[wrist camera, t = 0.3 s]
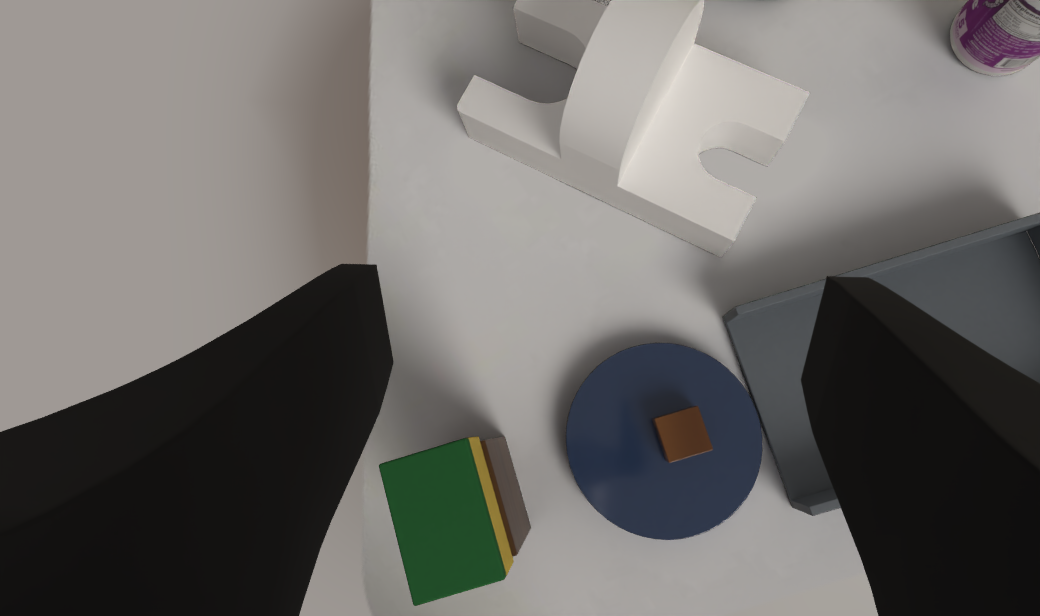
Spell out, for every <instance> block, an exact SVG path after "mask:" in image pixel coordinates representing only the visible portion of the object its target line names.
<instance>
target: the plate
mask: <svg viewBox="0 0 1040 616" xmlns="http://www.w3.org/2000/svg"><path fill="white" fill-rule="evenodd" d="M692 406H698V407H699V410H700V413H701V416H702V419H703V422H704V424H705V427H706V430H707V433H708V436H709V439H710V442H711V444H712V447H713V450H712V451H708V452H705V453H702V454H698V455H695V456H692V457H689V458H685V459H682V460H679V461H675V462H672V463H668V462H666V460H665V457H664V454H663V451H662V448H661V445H660V442H659V439H658V436H657V433H656V430H655V427H654V424H653V421H652V419H653V418H656V417H659V416H662V415H666V414H669V413H672V412H676V411H679V410H682V409H686V408H689V407H692ZM566 448H567V456H568V460H569V464H570V468H571V470H572V473H573V476H574V478H575V480H576V482H577V484H578V486H579V488H580V490H581V491H582V493H583V494H584V496H585V497H586V499H587V500H588V501H589V502H590V504H591V505H592V506H593V507H594V508H595V509H596V510H597V511H598V512H599V513H600V514H601V515H603V516H604V517H605V518H606V519H607V520H609V521H610V522H612V523H613V524H615V525H616V526H618V527H620V528H622V529H624V530H626V531H628V532H630V533H633V534H636V535H639V536H642V537H647V538H652V539H661V540H674V539H684V538H689V537H693V536H697V535H699V534H702V533H705V532H707V531H709V530H711V529H713V528H715V527H717V526H718V525H720V524H721V523H723V522H724V521H725V520H727V519H728V518H729V517H730V516H731V515H733V514H734V513H735V512H736V511H737V510H738V509H739V507H740V506H741V505H742V503H743V502H744V501H745V500H746V498H747V497H748V495H749V493H750V491H751V490H752V488H753V486H754V483H755V481H756V478H757V476H758V472H759V468H760V464H761V457H762V433H761V426H760V422H759V418H758V415H757V411H756V409H755V407H754V404H753V402H752V400H751V398H750V396H749V394H748V393H747V391H746V389H745V388H744V386H743V385H742V384H741V383H740V381H739V380H738V379H737V378H736V376H735V375H734V374H733V373H732V372H730V371H729V370H728V369H727V368H726V367H725V366H724V365H722V364H721V363H720V362H718V361H717V360H716V359H714V358H712V357H711V356H709V355H707V354H705V353H703V352H701V351H698V350H696V349H694V348H690V347H687V346H683V345H678V344H671V343H650V344H642V345H638V346H634V347H631V348H628V349H625V350H623V351H620V352H618V353H616V354H615V355H613V356H611V357H609V358H608V359H606V360H605V361H604V362H602V363H601V364H600V365H599V366H597V367H596V368H595V369H594V370H593V371H592V372H591V373H590V374H589V376H588V377H587V378H586V379H585V381H584V382H583V383H582V385H581V387H580V388H579V390H578V392H577V393H576V395H575V398H574V400H573V402H572V405H571V408H570V412H569V415H568V420H567V427H566Z"/></svg>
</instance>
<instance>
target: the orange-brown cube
mask: <svg viewBox="0 0 1040 616" xmlns="http://www.w3.org/2000/svg"><path fill="white" fill-rule="evenodd" d="M652 421H653V424H654V427H655V430H656V433H657V436H658V439H659V442H660V445H661V448H662V451H663V454H664V457H665V460H666V462H668V463H672V462H675V461H679V460H682V459H685V458H689V457H692V456H695V455H698V454H702V453H705V452H708V451H712V450H713V447H712V444H711V442H710V439H709V436H708V433H707V430H706V427H705V424H704V422H703V419H702V416H701V413H700V410H699V407H698V406H692V407H689V408H686V409H682V410H679V411H676V412H672V413H669V414H666V415H662V416H659V417H656V418H653V419H652Z"/></svg>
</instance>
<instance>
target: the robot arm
mask: <svg viewBox="0 0 1040 616" xmlns="http://www.w3.org/2000/svg"><path fill="white" fill-rule="evenodd" d="M392 366H393V357H392V351H391V345H390V340H389V334H388V328H387V322H386V317H385V311H384V305H383V300H382V294H381V288H380V282H379V277H378V271H377V265H365V264H340V265H338V266H336V267H334V268H332V269H330V270H328V271H327V272H325V273H323V274H321V275H320V276H318V277H316V278H315V279H313V280H312V281H310V282H308V283H307V284H305V285H303V286H302V287H300V288H299V289H297V290H296V291H294V292H292V293H291V294H289V295H288V296H286V297H284V298H283V299H281V300H280V301H278V302H276V303H275V304H273V305H272V306H270V307H268V308H267V309H265V310H264V311H262V312H260V313H259V314H257V315H256V316H254V317H253V318H251V319H249V320H247V321H246V322H244V323H243V324H241V325H239V326H237V327H235V328H234V329H232V330H230V331H228V332H227V333H225V334H223V335H221V336H220V337H218V338H216V339H214V340H213V341H211V342H209V343H207V344H206V345H204V346H202V347H200V348H199V349H197V350H195V351H193V352H191V353H189V354H187V355H186V356H184V357H182V358H180V359H178V360H176V361H174V362H172V363H170V364H168V365H166V366H164V367H162V368H160V369H158V370H155V371H153V372H151V373H149V374H147V375H145V376H143V377H140V378H139V379H136V380H134V381H132V382H130V383H127V384H125V385H123V386H121V387H118V388H116V389H114V390H111V391H109V392H106V393H104V394H101V395H99V396H96V397H93V398H91V399H89V400H86V401H83V402H81V403H78V404H76V405H73V406H71V407H68V408H66V409H63V410H60V411H58V412H55V413H53V414H50V415H48V416H45V417H42V418H40V419H37V420H34V421H31V422H28V423H25V424H22V425H19V426H16V427H14V428H11V429H8V430H5V431H2V432H0V616H299V614H300V610H301V607H302V604H303V600H304V597H305V594H306V591H307V588H308V585H309V582H310V579H311V575H312V573H313V569H314V566H315V563H316V560H317V557H318V554H319V551H320V548H321V545H322V543H323V540H324V538H325V535H326V533H327V530H328V528H329V525H330V523H331V520H332V518H333V516H334V514H335V511H336V509H337V507H338V504H339V502H340V500H341V498H342V496H343V493H344V491H345V489H346V487H347V485H348V482H349V480H350V478H351V476H352V474H353V471H354V469H355V467H356V465H357V462H358V460H359V458H360V456H361V454H362V451H363V449H364V447H365V445H366V442H367V440H368V438H369V435H370V433H371V431H372V429H373V426H374V424H375V422H376V419H377V417H378V415H379V412H380V409H381V406H382V402H383V399H384V396H385V392H386V389H387V385H388V381H389V377H390V374H391V370H392ZM801 384H802V388H803V393H804V398H805V403H806V408H807V412H808V416H809V420H810V425H811V429H812V433H813V436H814V439H815V441H816V444H817V447H818V449H819V452H820V455H821V457H822V460H823V463H824V465H825V468H826V470H827V473H828V476H829V478H830V481H831V483H832V486H833V488H834V491H835V494H836V496H837V499H838V501H839V504H840V506H841V509H842V511H843V514H844V517H845V519H846V522H847V524H848V527H849V529H850V532H851V534H852V537H853V539H854V542H855V545H856V547H857V550H858V552H859V555H860V557H861V560H862V563H863V566H864V569H865V572H866V575H867V577H868V580H869V583H870V586H871V590H872V593H873V597H874V601H875V605H876V608H877V612H878V616H1040V383H1038V382H1037V381H1035V380H1033V379H1032V378H1030V377H1028V376H1026V375H1025V374H1023V373H1021V372H1019V371H1018V370H1016V369H1014V368H1012V367H1011V366H1009V365H1007V364H1006V363H1004V362H1003V361H1001V360H999V359H998V358H996V357H994V356H993V355H991V354H990V353H988V352H986V351H985V350H983V349H982V348H980V347H978V346H977V345H975V344H974V343H972V342H970V341H969V340H967V339H966V338H964V337H963V336H961V335H960V334H958V333H957V332H955V331H953V330H952V329H950V328H949V327H947V326H946V325H944V324H943V323H941V322H940V321H938V320H937V319H935V318H934V317H932V316H931V315H929V314H928V313H926V312H924V311H923V310H921V309H920V308H918V307H917V306H915V305H914V304H912V303H911V302H909V301H908V300H906V299H905V298H903V297H901V296H900V295H898V294H897V293H895V292H894V291H892V290H890V289H889V288H887V287H885V286H884V285H882V284H880V283H878V282H877V281H875V280H873V279H871V278H869V277H835V276H827V278H826V282H825V286H824V290H823V294H822V298H821V302H820V306H819V310H818V313H817V317H816V321H815V325H814V329H813V333H812V337H811V341H810V345H809V349H808V353H807V357H806V361H805V365H804V368H803V372H802V376H801Z"/></svg>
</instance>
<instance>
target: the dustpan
mask: <svg viewBox="0 0 1040 616" xmlns="http://www.w3.org/2000/svg"><path fill="white" fill-rule="evenodd" d="M1026 231H1028V233H1029V236H1030V238H1031V240H1032V242H1033V244H1034V246H1035V248H1036V250H1037V253H1038V255H1039V257H1040V213H1037V214H1034V215H1030V216H1027V217H1024V218H1021V219H1017V220H1014V221H1011V222H1008V223H1005V224H1001V225H998V226H995V227H992V228H988V229H985V230H982V231H979V232H975V233H972V234H969V235H966V236H962V237H959V238H956V239H953V240H950V241H946V242H943V243H940V244H937V245H933V246H930V247H927V248H924V249H920V250H917V251H914V252H911V253H907V254H904V255H901V256H898V257H895V258H891V259H888V260H885V261H882V262H878V263H875V264H872V265H869V266H865V267H862V268H859V269H856V270H853V271H849V272H846V273H843V274H840V275H836V276H835V277H869V278H871V279H873V280H875V281H877V282H878V283H880V284H882V285H884V286H885V287H887V288H889V289H890V290H892V291H894V292H895V293H897V294H898V295H900V296H901V297H903V298H905V299H906V300H908V301H909V302H911V303H912V304H914V305H915V306H917V307H918V308H920V309H921V310H923V311H924V312H926V313H928V314H929V315H931V316H932V317H934V318H935V319H937V320H938V321H940V322H941V323H943V324H944V325H946V326H947V327H949V328H950V329H952V330H953V331H955V332H957V333H958V334H960V335H961V336H963V337H964V338H966V339H967V340H969V341H970V342H972V343H974V344H975V345H977V346H978V347H980V348H982V349H983V350H985V351H986V352H988V353H990V354H991V355H993V356H994V357H996V358H998V359H999V360H1001V361H1003V362H1004V363H1006V364H1007V365H1009V366H1011V367H1012V368H1014V369H1016V370H1018V371H1019V372H1021V373H1023V374H1025V375H1026V376H1028V377H1030V378H1032V379H1033V380H1035V381H1037V382H1038V383H1040V259H1039V257H1038V255H1037V253H1036V251H1035V249H1034V246H1033V244H1032V242H1031V240H1030V238H1029V236H1028V234H1027V232H1026ZM825 282H826V279H823V280H820V281H817V282H814V283H810V284H807V285H804V286H801V287H798V288H794V289H791V290H788V291H785V292H781V293H778V294H775V295H772V296H768V297H765V298H762V299H759V300H755V301H752V302H749V303H746V304H743V305H739V306H736V307H735V308H733V309H732V310H731V311H729V312H728V313H727V314H725V315H724V316H723V319H724V322H725V325H726V327H727V330H728V333H729V336H730V338H731V341H732V344H733V347H734V349H735V352H736V355H737V358H738V360H739V363H740V366H741V368H742V371H743V374H744V377H745V379H746V382H747V385H748V388H749V390H750V393H751V396H752V399H753V401H754V404H755V407H756V410H757V412H758V415H759V418H760V420H761V423H762V426H763V429H764V431H765V434H766V437H767V440H768V442H769V445H770V448H771V451H772V453H773V456H774V459H775V462H776V464H777V467H778V470H779V472H780V475H781V478H782V481H783V483H784V486H785V489H786V492H787V494H788V497H789V500H790V503H791V505H792V508H795V509H797V510H800V511H802V512H805V513H807V514H809V515H812V516H814V515H818V514H821V513H825V512H828V511H831V510H835V509H838V508H841V506H840V504H839V501H838V499H837V496H836V494H835V491H834V488H833V486H832V483H831V481H830V478H829V476H828V473H827V470H826V468H825V465H824V463H823V460H822V457H821V455H820V452H819V449H818V447H817V444H816V441H815V439H814V436H813V433H812V429H811V425H810V420H809V416H808V412H807V408H806V403H805V398H804V393H803V388H802V384H801V376H802V372H803V368H804V365H805V361H806V357H807V353H808V349H809V345H810V341H811V337H812V333H813V329H814V325H815V321H816V317H817V313H818V310H819V306H820V302H821V298H822V294H823V290H824V286H825Z"/></svg>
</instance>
